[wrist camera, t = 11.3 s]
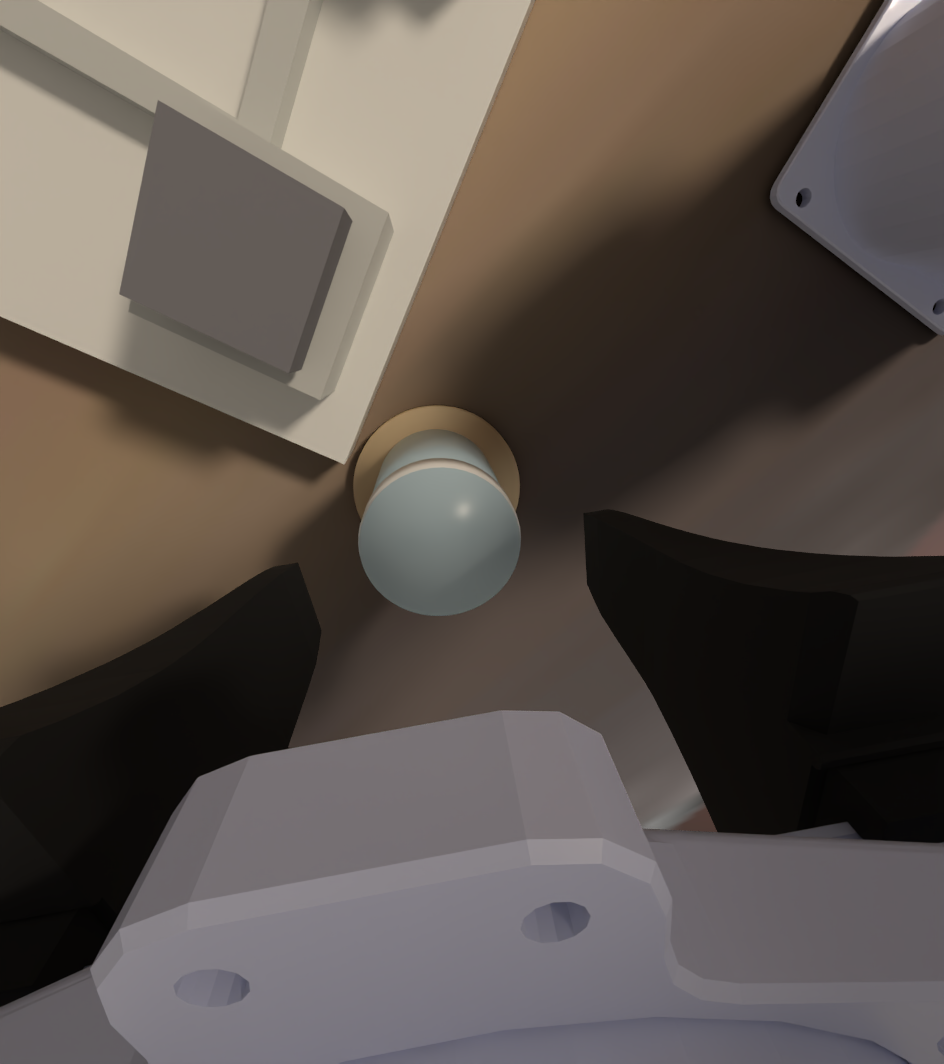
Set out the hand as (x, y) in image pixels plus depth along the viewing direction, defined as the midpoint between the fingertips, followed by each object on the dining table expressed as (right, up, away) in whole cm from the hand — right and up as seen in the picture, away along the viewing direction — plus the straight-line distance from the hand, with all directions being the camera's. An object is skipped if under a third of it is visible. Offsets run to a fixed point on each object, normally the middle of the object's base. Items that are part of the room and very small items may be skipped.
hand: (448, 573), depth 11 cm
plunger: (-5, +8, +1) cm, 9 cm away
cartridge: (-1, +3, +6) cm, 7 cm away
